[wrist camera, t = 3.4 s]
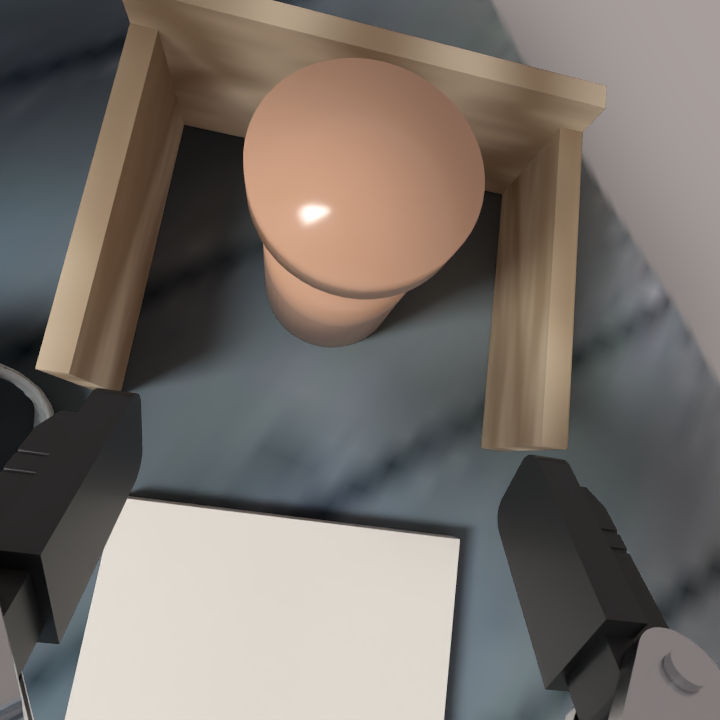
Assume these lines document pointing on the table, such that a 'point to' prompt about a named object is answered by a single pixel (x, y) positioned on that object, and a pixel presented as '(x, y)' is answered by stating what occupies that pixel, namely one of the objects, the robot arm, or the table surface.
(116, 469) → the robot arm
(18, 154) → the table surface
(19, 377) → the ceramic mug
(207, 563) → the stone tile
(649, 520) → the table surface
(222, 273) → the table surface
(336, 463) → the table surface
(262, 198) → the tan round-topped cylinder
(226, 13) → the wooden frame
